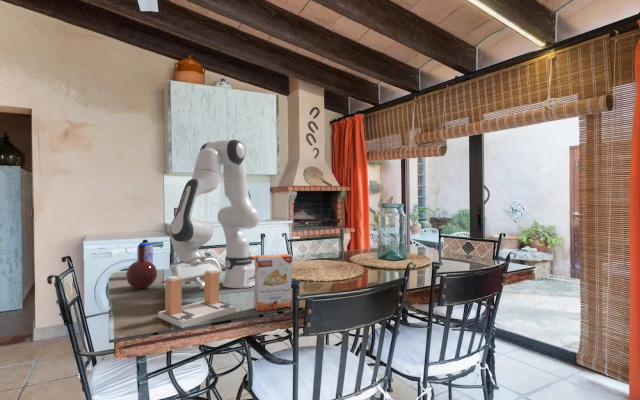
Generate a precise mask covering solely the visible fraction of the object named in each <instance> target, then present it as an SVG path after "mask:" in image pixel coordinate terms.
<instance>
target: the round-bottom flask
mask: <svg viewBox="0 0 640 400" xmlns="http://www.w3.org/2000/svg"><path fill="white" fill-rule="evenodd" d="M137 247H139V261H137V260H136V261H135V262H132V263H131V264H130V265H129V266H128V268H127V270H126V273H125V279H126V281H127V283H128V285H129V286H131V287H132V288H135V289H137V290H138V289H139V290H142V289H147V288H149V287H150V286H152V285H153V284H154V283H155V281H156V279H157V278H158V277H157V276H158V271H157V270H158V269H157V267H156V265H155V264H154V263H153V264H152V263H151V262H149V261H146V260H145V247H146V246H138V245H137Z"/></svg>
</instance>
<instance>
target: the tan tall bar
mask: <svg viewBox="0 0 640 400" xmlns="http://www.w3.org/2000/svg"><path fill="white" fill-rule="evenodd" d="M203 283H204V288H203V290H204V292H203V293H204V294H203V298H204V299H203V301H204V303H207V304H210V305H212V304H216V303H219V301H220V275H219V272H218V270H214V269H211V270H206V272H204V281H203Z"/></svg>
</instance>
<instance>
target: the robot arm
mask: <svg viewBox="0 0 640 400" xmlns="http://www.w3.org/2000/svg"><path fill="white" fill-rule="evenodd" d="M245 157H246V147H245V144H244V143H243V142H242V141H241V140H238V139H222V140H221V139H220V140H217V141H212V142H210V141H209V142H206V143H204V144H203V145H202V146H201V148H200V150H199V152H198V154H197V158H196V161H195V165H194V169H193V174H192V177H191V179H189V180H187V182H186V184H185V186H184V188H183V191H182V193H181V196H180V200H179V202H178V206H177V209H176V212H175V215H174V218H173V220H172V222H171V224H170V226H169V232H170V242H171V246H172V247H173V249H174V252H175V253H176V254H177V257H178V261H176V262H171V264H170V265H169V269H170V271H171V274H172V276H178V277H180V279H182V284H186V283H193V282H194V283H195V284H196V285H198V287H199V289H200V290H202V289H203V290H204V272H206V270H211V269H214V270H218V272H219V276H220V275H221V274H222V271H223V269H222V267H221V264H220V263H219V262H218V260H217V259H216V258H215V257H214V256H215V255H214V254H213V252H210V251H204V250H200V248H201V247H203V246H204V245H206V244H207V243H208V242H210V240H211V238H212V236H213V228H212V225H211V224H210V222H207V221H203V220H201V219H195V218H193V217H192V214H193V211H194V207H195V205H196V200H197V198H198V197H199V196H200V195H202V194H208V193H211V192H213V191H214V190H216V189H217V188H218V186H219V183H220V179H221V168H223V172H222V173H223V175H222V176H223V189H224V195H225V197H226V198H227V199H228V200H229V203H230V205H228V206H224V207H222V208H220V209H219V211H218V213H217V221H218V222H219V224H220V226H221V227H222V230H223V233H224V237H225V251H226V255H225V258H224V259H225V260H224V261H225V263H224V264H225V273H224V279H223V282H222V286H223V287H224V288H230V289H239V288H240V289H244V288H245V289H249V287H251V288H253V287H252V286H254V287H255V263H253V262H252V261H255V256H256V255H254V256H253V255H252V256H250V241H249V237H248V236H247V235H246V233H245V230H248V229H249V230H250V229H253V228H255V227H256V226H258V225H259V223H260V213H259V212H258V210H257V208H255V207H254V205H253V203H252V200H251V198H250V195H249V190H248V189H249V188H248V179H247V169H246V165H245V161H244V160H245ZM222 166H223V167H222ZM201 280H202V281H201Z"/></svg>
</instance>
